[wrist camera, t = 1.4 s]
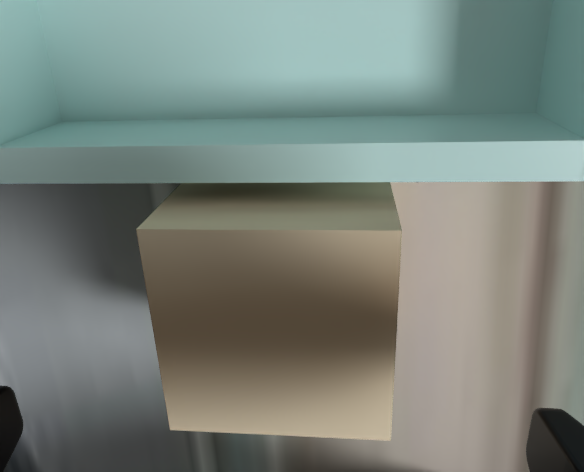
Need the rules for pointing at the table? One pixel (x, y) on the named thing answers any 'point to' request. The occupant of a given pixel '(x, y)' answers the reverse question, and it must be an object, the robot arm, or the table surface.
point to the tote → (291, 91)
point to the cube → (276, 307)
